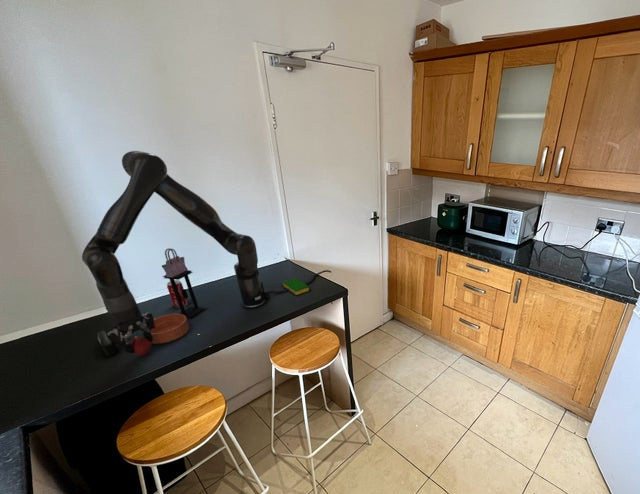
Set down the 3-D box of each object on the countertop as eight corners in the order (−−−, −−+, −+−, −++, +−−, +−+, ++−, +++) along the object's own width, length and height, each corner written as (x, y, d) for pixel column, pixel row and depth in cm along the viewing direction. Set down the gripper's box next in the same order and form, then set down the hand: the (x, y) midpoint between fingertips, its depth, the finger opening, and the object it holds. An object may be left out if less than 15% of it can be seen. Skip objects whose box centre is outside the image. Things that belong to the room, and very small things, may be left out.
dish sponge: (296, 282, 166) (295, 277, 165) (309, 290, 157) (308, 286, 156) (283, 286, 162) (282, 281, 161) (296, 295, 153) (295, 290, 152)
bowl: (171, 321, 132) (167, 311, 130) (198, 327, 128) (194, 316, 126) (137, 341, 120) (132, 330, 117) (166, 347, 116) (161, 336, 114)
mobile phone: (112, 343, 111) (103, 326, 119) (101, 347, 109) (93, 329, 117) (118, 354, 113) (108, 337, 122) (107, 358, 111) (98, 340, 120)
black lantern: (189, 320, 133) (166, 254, 120) (174, 318, 134) (149, 252, 121) (207, 307, 142) (187, 245, 129) (193, 306, 143) (172, 243, 130)
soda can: (175, 309, 141) (166, 285, 135) (173, 304, 144) (165, 281, 139) (189, 305, 144) (181, 282, 139) (187, 301, 148) (179, 278, 142)
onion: (158, 351, 113) (150, 333, 110) (142, 361, 108) (133, 343, 105) (147, 348, 115) (138, 330, 111) (130, 357, 110) (121, 339, 107)
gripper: (106, 319, 96) (127, 362, 103) (151, 297, 108) (167, 336, 115) (88, 315, 97) (111, 357, 105) (135, 294, 110) (152, 333, 117)
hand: (140, 346), depth 110 cm, fingers closed on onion, 5 cm apart
